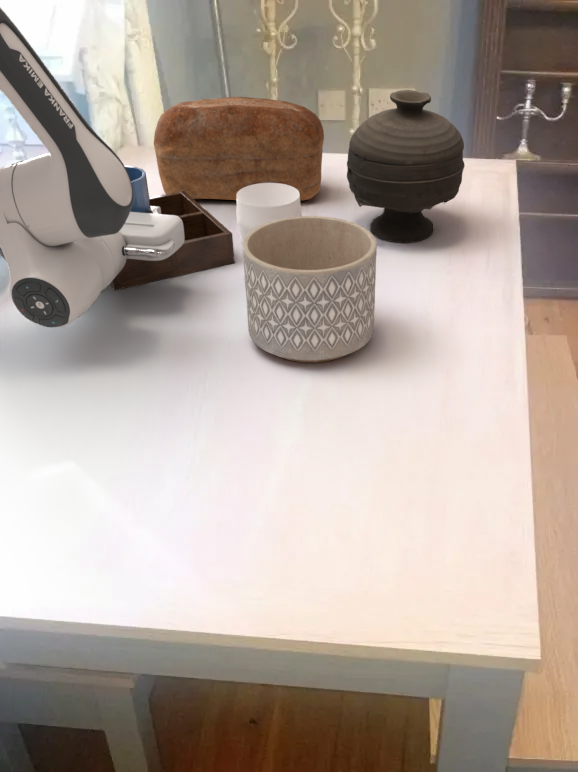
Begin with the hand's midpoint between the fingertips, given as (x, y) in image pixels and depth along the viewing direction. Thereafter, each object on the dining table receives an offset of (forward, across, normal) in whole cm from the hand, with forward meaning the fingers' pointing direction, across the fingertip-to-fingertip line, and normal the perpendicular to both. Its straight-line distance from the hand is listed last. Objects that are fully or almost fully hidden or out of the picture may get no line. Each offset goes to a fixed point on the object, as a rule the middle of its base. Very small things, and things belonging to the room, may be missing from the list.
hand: (128, 209), depth 128 cm
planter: (-16, -30, +9) cm, 35 cm away
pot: (+22, -37, +9) cm, 43 cm away
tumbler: (-1, 0, +6) cm, 6 cm away
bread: (+31, -8, +9) cm, 33 cm away
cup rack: (+6, 0, +8) cm, 10 cm away
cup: (0, -21, +9) cm, 22 cm away
